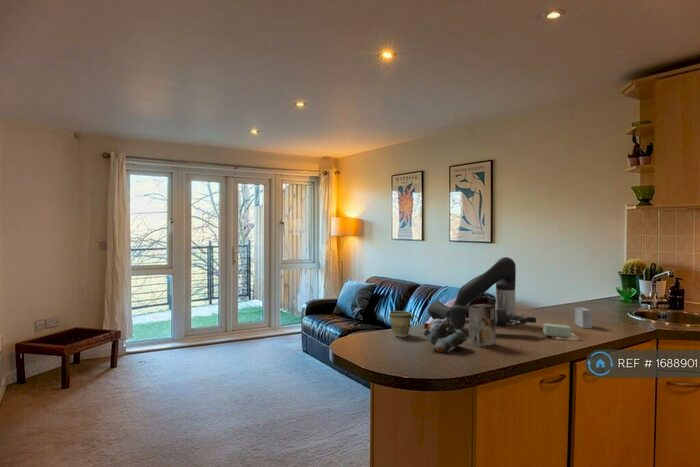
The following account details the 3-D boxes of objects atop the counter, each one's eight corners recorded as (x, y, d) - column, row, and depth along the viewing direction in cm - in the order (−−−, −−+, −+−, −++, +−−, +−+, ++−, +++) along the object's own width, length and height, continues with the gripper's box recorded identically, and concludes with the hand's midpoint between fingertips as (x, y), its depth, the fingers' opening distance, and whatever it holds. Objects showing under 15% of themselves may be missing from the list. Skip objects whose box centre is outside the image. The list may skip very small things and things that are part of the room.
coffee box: (484, 341, 184) (484, 303, 183) (496, 344, 178) (496, 305, 178) (468, 343, 179) (468, 304, 179) (479, 347, 174) (479, 307, 173)
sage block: (546, 325, 189) (571, 328, 187) (543, 322, 195) (567, 325, 193) (545, 334, 189) (570, 337, 187) (542, 331, 195) (566, 334, 193)
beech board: (553, 339, 186) (553, 337, 186) (546, 333, 197) (546, 330, 197) (581, 340, 183) (581, 338, 183) (572, 334, 195) (572, 332, 195)
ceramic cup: (386, 336, 191) (386, 314, 191) (392, 331, 200) (392, 310, 200) (415, 339, 186) (415, 316, 186) (420, 334, 196) (420, 312, 195)
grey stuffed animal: (443, 355, 162) (426, 321, 166) (429, 359, 173) (413, 327, 176) (473, 339, 168) (456, 306, 172) (458, 344, 179) (442, 313, 182)
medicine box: (592, 328, 207) (592, 310, 207) (582, 328, 207) (582, 310, 207) (583, 325, 215) (583, 307, 215) (574, 324, 215) (574, 307, 215)
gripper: (493, 323, 202) (532, 325, 199) (496, 329, 190) (538, 331, 186) (493, 307, 202) (532, 308, 199) (496, 312, 189) (539, 314, 186)
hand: (535, 320), depth 192 cm, fingers closed
